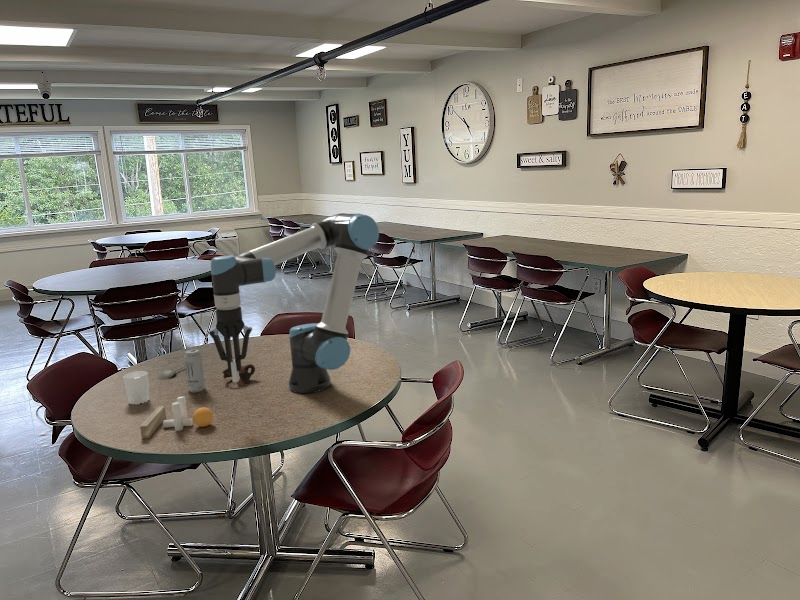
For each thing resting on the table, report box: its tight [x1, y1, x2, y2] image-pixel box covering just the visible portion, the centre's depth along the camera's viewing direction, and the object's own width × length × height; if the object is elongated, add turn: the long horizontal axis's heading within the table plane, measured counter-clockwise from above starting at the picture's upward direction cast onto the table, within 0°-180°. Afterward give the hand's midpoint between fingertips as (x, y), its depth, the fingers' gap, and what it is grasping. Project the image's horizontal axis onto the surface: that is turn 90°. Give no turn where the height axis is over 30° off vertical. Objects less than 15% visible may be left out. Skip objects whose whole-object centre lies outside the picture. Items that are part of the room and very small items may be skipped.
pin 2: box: [171, 401, 184, 432], centre depth 187 cm, size 2×2×8 cm
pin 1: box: [176, 395, 188, 419], centre depth 192 cm, size 2×2×8 cm
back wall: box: [139, 405, 167, 439], centre depth 190 cm, size 2×16×4 cm, turn 3°
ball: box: [192, 407, 214, 428], centre depth 189 cm, size 6×6×6 cm
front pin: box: [162, 417, 194, 429], centre depth 190 cm, size 2×2×8 cm
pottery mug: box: [222, 363, 256, 387], centre depth 230 cm, size 12×10×8 cm
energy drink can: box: [183, 348, 206, 393], centre depth 221 cm, size 6×6×15 cm
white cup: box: [123, 370, 150, 405], centre depth 213 cm, size 8×8×10 cm
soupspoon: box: [157, 365, 185, 381], centre depth 246 cm, size 22×3×7 cm
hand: (236, 380), depth 188 cm, fingers closed
